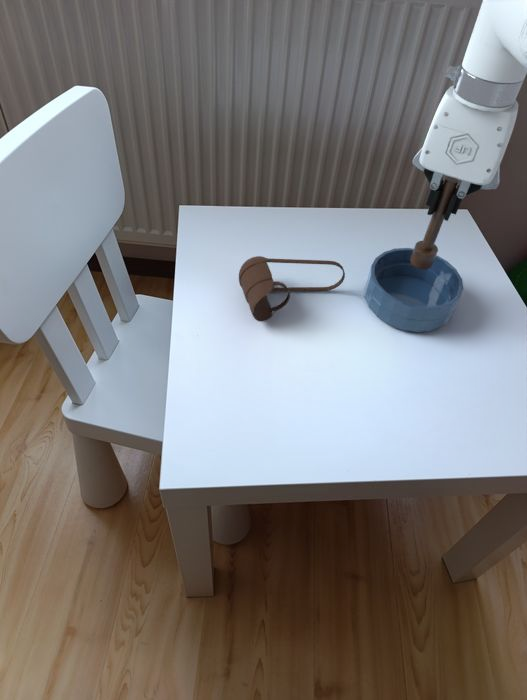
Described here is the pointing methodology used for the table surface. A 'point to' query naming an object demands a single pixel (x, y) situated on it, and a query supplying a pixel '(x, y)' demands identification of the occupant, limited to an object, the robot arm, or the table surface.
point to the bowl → (412, 291)
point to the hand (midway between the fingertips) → (439, 212)
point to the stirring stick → (433, 228)
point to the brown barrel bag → (271, 284)
